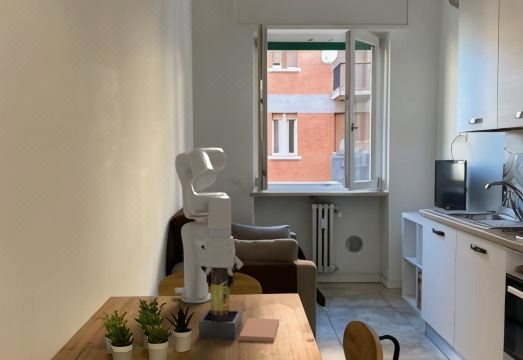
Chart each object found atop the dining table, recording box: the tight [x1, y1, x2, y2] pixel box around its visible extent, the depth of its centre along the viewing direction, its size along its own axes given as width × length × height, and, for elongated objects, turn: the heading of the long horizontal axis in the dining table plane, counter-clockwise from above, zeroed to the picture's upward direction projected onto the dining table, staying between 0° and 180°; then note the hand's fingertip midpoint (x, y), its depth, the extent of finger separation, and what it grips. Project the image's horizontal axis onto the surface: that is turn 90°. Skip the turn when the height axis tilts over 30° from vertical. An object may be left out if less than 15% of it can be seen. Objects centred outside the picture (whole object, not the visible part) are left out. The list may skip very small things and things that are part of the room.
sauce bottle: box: [210, 268, 230, 316], centre depth 160 cm, size 6×6×20 cm
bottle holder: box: [198, 308, 243, 341], centre depth 160 cm, size 12×12×6 cm
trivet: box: [239, 317, 280, 343], centre depth 160 cm, size 11×16×2 cm
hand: (220, 285), depth 160 cm, fingers closed on sauce bottle, 6 cm apart
